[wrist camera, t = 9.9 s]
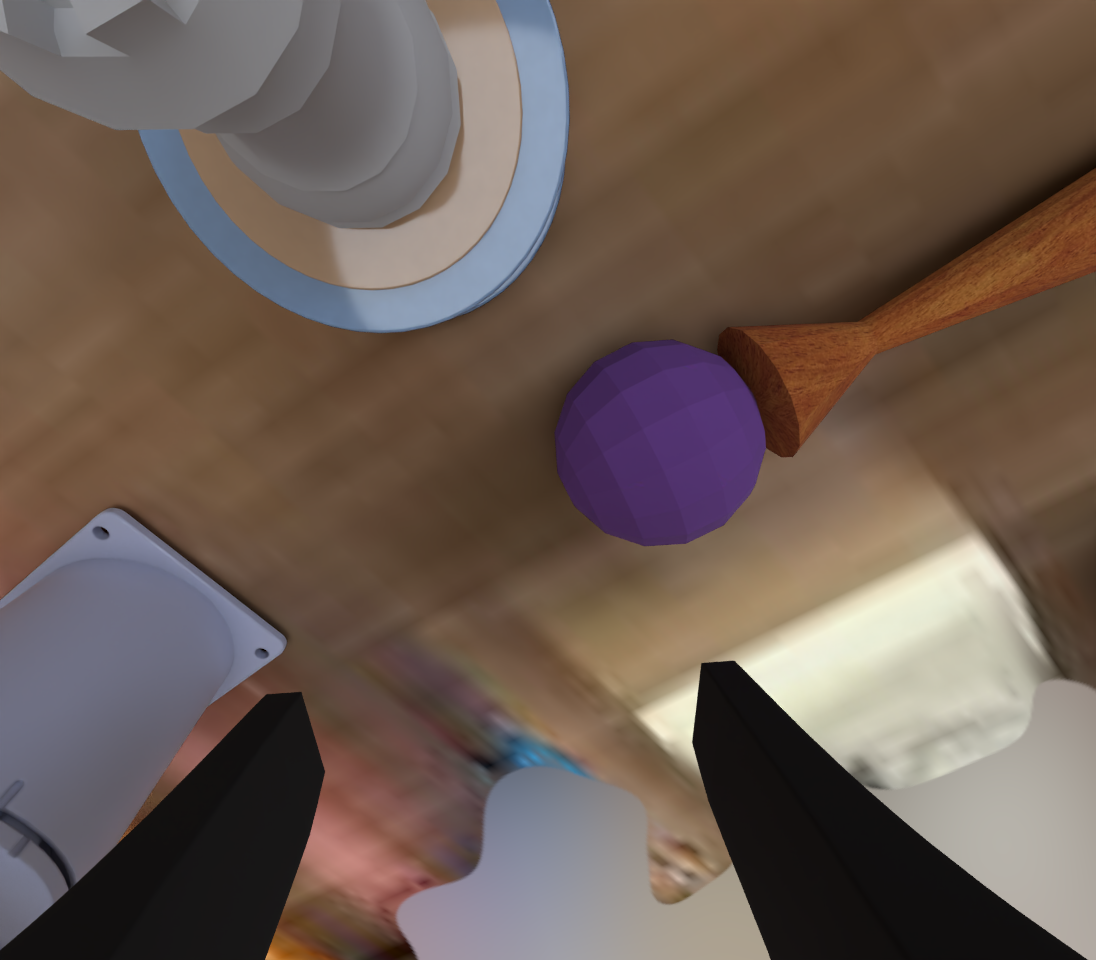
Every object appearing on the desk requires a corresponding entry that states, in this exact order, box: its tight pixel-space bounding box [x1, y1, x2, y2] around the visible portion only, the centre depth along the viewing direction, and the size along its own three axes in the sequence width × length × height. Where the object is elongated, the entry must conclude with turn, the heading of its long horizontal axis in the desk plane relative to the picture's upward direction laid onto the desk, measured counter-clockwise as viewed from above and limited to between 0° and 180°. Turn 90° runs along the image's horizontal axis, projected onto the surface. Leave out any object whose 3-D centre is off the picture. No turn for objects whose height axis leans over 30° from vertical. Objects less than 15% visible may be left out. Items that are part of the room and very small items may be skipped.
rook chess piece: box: [0, 0, 461, 228], centre depth 7 cm, size 4×4×8 cm
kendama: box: [555, 168, 1096, 546], centre depth 15 cm, size 6×6×20 cm
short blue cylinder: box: [138, 0, 570, 333], centre depth 13 cm, size 9×9×5 cm
